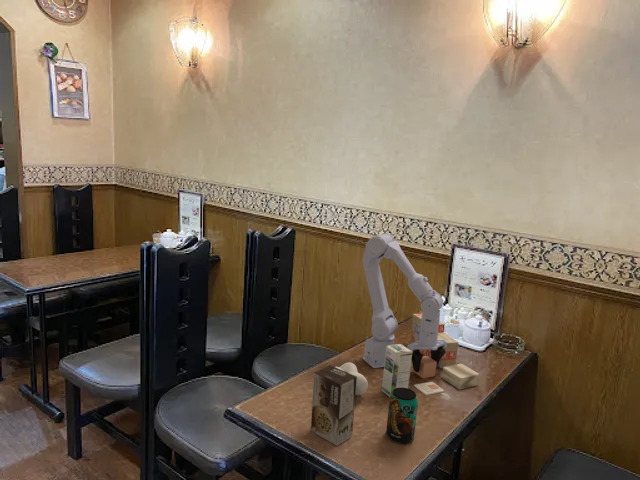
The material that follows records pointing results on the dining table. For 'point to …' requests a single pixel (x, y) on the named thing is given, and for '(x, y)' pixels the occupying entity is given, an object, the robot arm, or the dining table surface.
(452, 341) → the stack of blocks
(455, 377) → the ash block
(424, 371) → the terracotta cube
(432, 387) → the card
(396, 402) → the beverage can
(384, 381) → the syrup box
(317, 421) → the coffee box
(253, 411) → the dining table surface
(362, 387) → the white lobed shape
